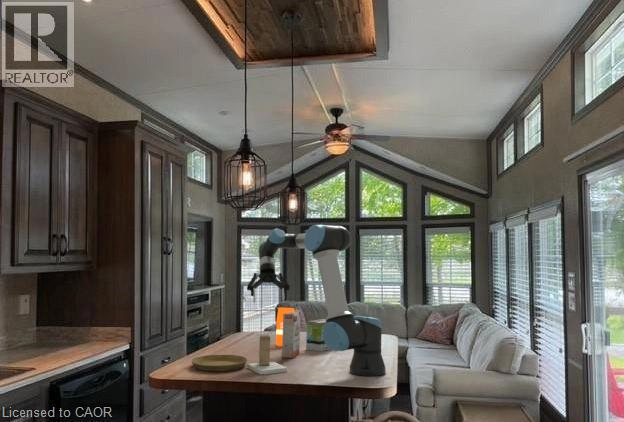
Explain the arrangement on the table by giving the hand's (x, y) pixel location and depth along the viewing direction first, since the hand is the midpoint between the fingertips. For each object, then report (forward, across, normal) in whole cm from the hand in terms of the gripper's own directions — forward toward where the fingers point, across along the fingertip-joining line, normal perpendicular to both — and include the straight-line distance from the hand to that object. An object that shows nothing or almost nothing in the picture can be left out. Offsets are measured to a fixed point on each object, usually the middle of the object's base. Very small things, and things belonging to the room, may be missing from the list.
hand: (269, 300), depth 228 cm
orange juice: (-10, -13, -50) cm, 52 cm away
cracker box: (+11, -12, -28) cm, 33 cm away
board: (+31, +2, -8) cm, 32 cm away
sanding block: (+28, +3, -9) cm, 29 cm away
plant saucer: (+25, +22, -15) cm, 36 cm away
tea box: (0, -31, -40) cm, 50 cm away
